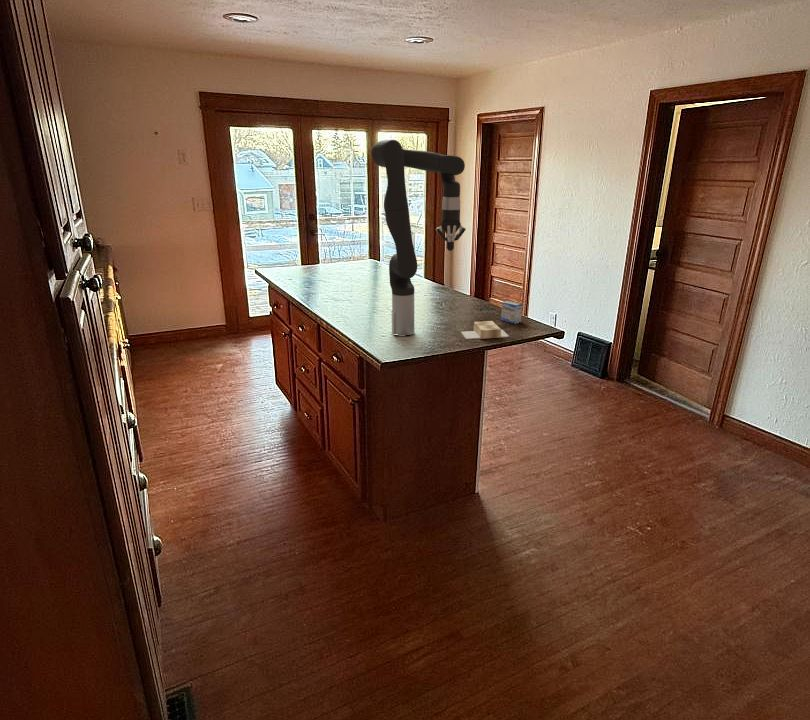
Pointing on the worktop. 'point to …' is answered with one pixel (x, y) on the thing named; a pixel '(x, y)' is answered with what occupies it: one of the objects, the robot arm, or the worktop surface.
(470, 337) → the grey mat
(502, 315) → the medicine box
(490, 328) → the birch block
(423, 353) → the worktop surface
